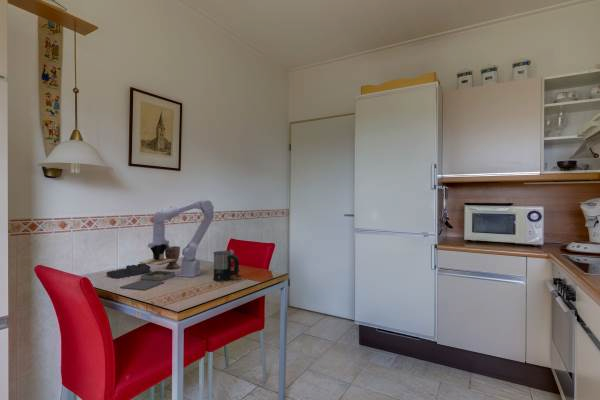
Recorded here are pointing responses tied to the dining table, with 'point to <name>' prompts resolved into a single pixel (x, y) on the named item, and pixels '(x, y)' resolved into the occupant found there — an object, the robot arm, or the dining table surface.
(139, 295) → the dining table surface
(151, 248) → the robot arm
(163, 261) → the lid
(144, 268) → the dark slate chunk
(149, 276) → the dish
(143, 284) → the mat
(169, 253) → the mortar and pestle
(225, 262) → the milk frother
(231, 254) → the food container
